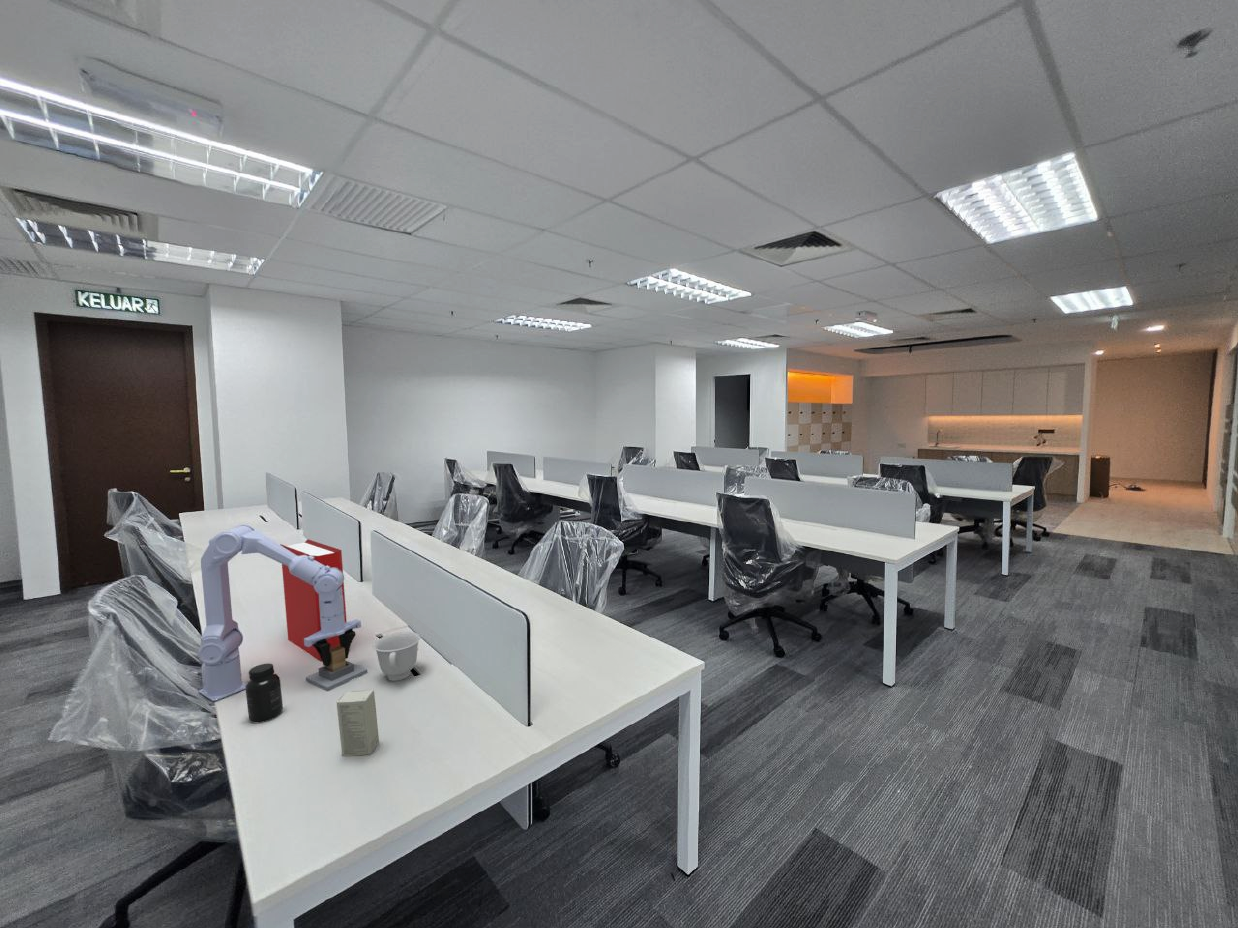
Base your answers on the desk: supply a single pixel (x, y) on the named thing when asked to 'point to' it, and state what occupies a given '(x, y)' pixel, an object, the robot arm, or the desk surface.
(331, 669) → the oak peg
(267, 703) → the supplement bottle
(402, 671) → the teacup
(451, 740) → the desk surface
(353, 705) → the skincare box
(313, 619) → the book
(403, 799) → the desk surface
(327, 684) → the stand
